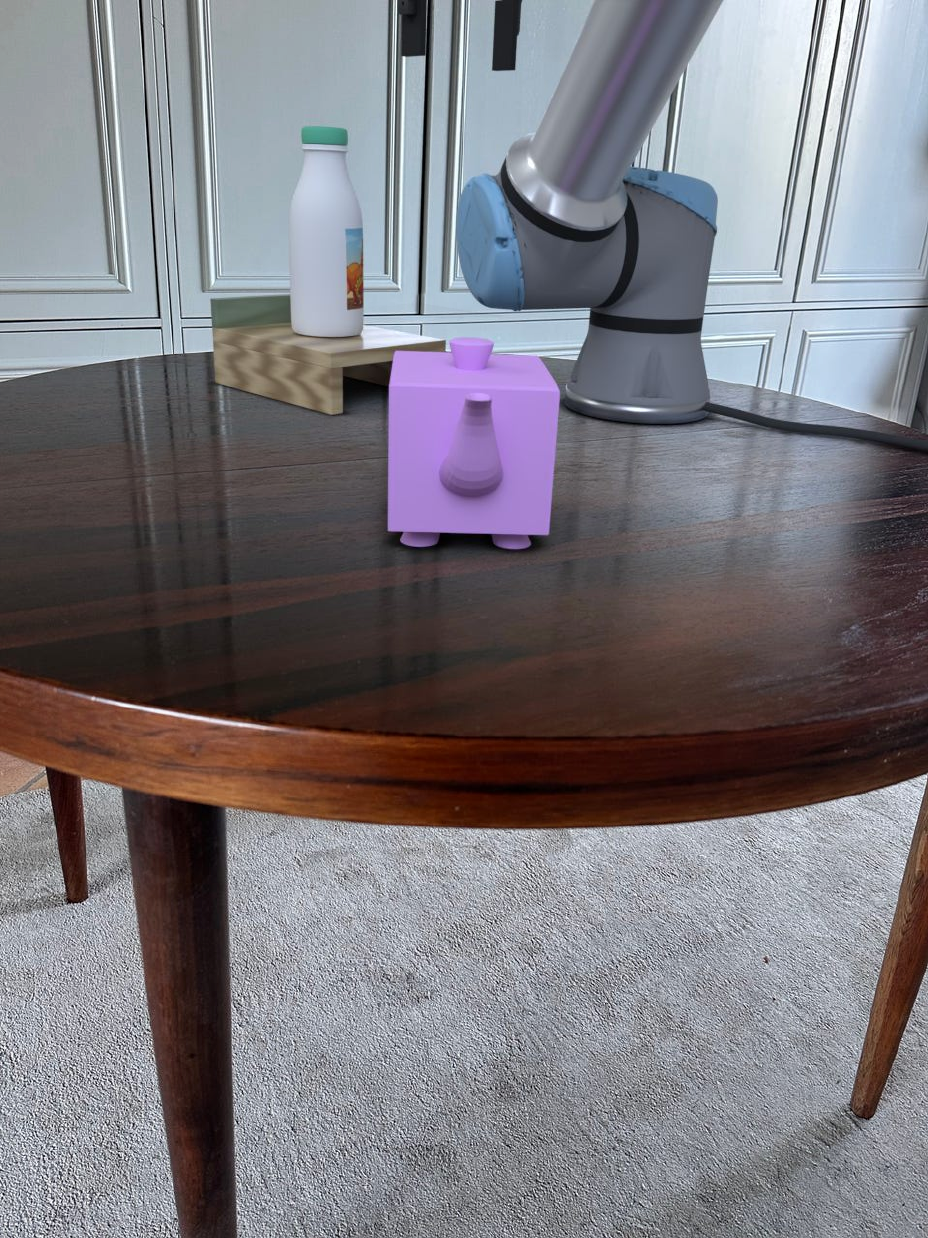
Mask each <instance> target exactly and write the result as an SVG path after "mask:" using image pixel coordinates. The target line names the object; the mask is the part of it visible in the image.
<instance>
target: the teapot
mask: <svg viewBox="0 0 928 1238" xmlns="http://www.w3.org/2000/svg"><path fill="white" fill-rule="evenodd" d="M448 343H449V349H450V351H451V352H449V351H447V352H418V351H395V353H394V358H393V364H392V370H391V377H390V383H389V387H388V447H387V448H388V453H387V454H388V458H387V459H388V460H387V461H388V463H387V464H388V465H387V469H388V470H387V483H388V484H387V532H401V533H402V532H403V533H402V535H401V536H400V539H399V540H400V543H402V544H403V545H406V546H408V547H409V546H410V547H417V548H425V547H431V546H435V545H437V544H438V543H439V539H440V536H441V533H442V534H443V533H446V534H447V533H449V534H481V535H482V534H485V535H486V534H489V535H491V538H492V543H493V544H494V545H495V546H497V547H499V548H502V549H508V550H522V549H527V548H529V547H530V546H531V545H532V542H531V539H530V538H529V536H531V535H532V536H549V535H550V525H551V515H552V514H551V512H552V499H553V487H554V477H555V476H554V475H555V474H554V473H555V463H556V461H555V460H556V449H557V438H558V437H557V436H558V423H559V412H560V398H561V391H560V389H559V386H558V384H557V382H556V381H555V379H554V378H553V376H552V374H551V373H550V371H549V370H548V368H547V366H546V365H545V364H544V362H543V361H542V359H541V358H540V357H539V356H538V355H537V354H536V355H535V354H532V355H529V354H505V353H504V354H503V353H492V352H493V349H494V345H495V342H493V341H492V340H490V339H487V338H481V337H473V336H472V337H471V336H469V337H467V336H465V337H464V336H463V337H454V338H452V339H450V340H449V341H448Z"/></svg>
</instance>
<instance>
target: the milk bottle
mask: <svg viewBox="0 0 928 1238" xmlns="http://www.w3.org/2000/svg"><path fill="white" fill-rule="evenodd" d="M300 133H301V134H300V135H301V137H300V138H301V143H302V147H301V150H302V151H303V154H304V159H303V165H302V169H301V173H300V177H299V180H298V183H297V185H296V188H295V190H294V192H293V196H292V198H291V203H290V206H289V215H288V259H289V262H288V263H289V294H290V300H291V325H292V329H293V331H294V332H295V333H298V334H302V335H308V336H316V337H346V336H355V335H359V334H361V333H362V331H363V325H364V316H365V315H364V313H365V312H364V305H365V304H364V302H365V301H364V293H365V292H364V288H365V287H364V227H363V226H364V225H363V224H364V223H363V215H362V209H361V205H360V200H359V198H358V196H357V193H356V190H355V189H354V188H355V187H354V186H353V183H352V181H351V177H350V174H349V169H348V167H347V161H346V154H347V153H348V152H349V150H348V143H349V134H348V130H347V129H346V128H344V127H336V126H321V125H319V126H318V125H316V126H315V125H314V126H313V125H309V126H303V127H302V128H301V131H300Z"/></svg>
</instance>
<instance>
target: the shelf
mask: <svg viewBox="0 0 928 1238" xmlns="http://www.w3.org/2000/svg"><path fill="white" fill-rule="evenodd" d="M209 301H210V316H211V317H210V318H211V331H212V332H211V333H212V349H213V364H214V365H213V367H214V381H215V382H214V383H215V384H218V385H221V386H226V387H229V388H231V389H232V388H233V389H237V390H238V391H239V390H240V391H243V392H248V393H249V394H250V393H251V394H254V395H258V396H262V397H264V398H268V399H272V400H276V401H279V402H283V403H287V404H290V405H293V406H294V405H295V406H298V407H301V408H304V409H309V410H311V411H314V412H315V411H316V412H320V413H323V414H325V415H326V414H327V415H330V416H333V415H340V414H343V413H344V387H343V386H344V382H343V381H344V377H347V378H349V379H355V380H358V381H363V382H368V383H370V384H371V383H372V384H375V385H379V386H384V387H388V388H389V383H390V377H391V370H392V364H393V358H394V353H395V351H418V352H446V349H447V347H446V346H447V340H446V339H443V338H437V337H433V336H432V337H431V336H426V335H420V334H416V333H410V332H404V331H399V330H394V329H387V328H382V327H378V326H373V325H366V324H363V331H362V333H361V334H359V335H355V336H346V337H316V336H308V335H302V334H298V333H295V332H294V331H293V329H292V325H291V300H290V293H282V294H281V293H279V294H264V295H247V296H230V297H229V296H227V297H217V298H216V297H212V298H209Z"/></svg>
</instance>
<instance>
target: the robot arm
mask: <svg viewBox="0 0 928 1238" xmlns="http://www.w3.org/2000/svg"><path fill="white" fill-rule="evenodd" d="M723 2H724V0H594V1H593V3H592V6H591V8H590V10H589V12H588V15H587V16H586V19H585V21H584V23H583V26H582V28H581V29H580V33H579V35H578V36H577V38H576V41H575V43H574V46H573V48H572V50H571V53H570V55H569V57H568V59H567V61H566V64H565V66H564V67H563V71H562V73H561V75H560V77H559V80H558V82H557V83H556V85H555V88H554V91H553V93H552V95H551V97H550V100H549V102H548V103H547V106H546V109H545V111H544V113H543V115H542V118H541V120H540V122H539V124H538V126H537V128H536V131H535V132H531V133H527V134H524V135H522V136H520V137H519V138H517V139H516V140H515V141H514V142H513V143H512V144H511V146H510V147H509V149H508V151H507V153H506V155H505V158H504V160H503V162H502V165H501V167H500V170H499V172H498V173H497V174H496V175H491V174H489V173H487V172H484V173H482V174H481V175H477V176H472V177H471V178H469V180H467V182H466V183H465V185H464V187H463V189H462V191H461V194H460V197H459V201H458V206H457V210H456V211H457V214H456V227H455V228H456V230H455V231H456V245H457V255H458V260H459V265H460V270H461V272H462V276H463V279H464V282H465V284H466V286H467V289H468V290H469V292H470V294H471V295H472V297H473V298H474V299H475V300H476V301H477V302H478V303H479V304H480V305H482V306H484V307H486V308H489V309H496V310H508V311H509V310H510V311H513V312H521V311H534V310H566V309H567V310H572V309H573V310H574V309H589V316H588V317H589V319H588V326H587V327H588V328H587V333H586V336H585V339H584V342H583V344H582V345H581V349H580V351H579V354H578V355H577V358H576V360H575V364H574V365H573V369H572V371H571V373H570V377H569V378H568V381H567V383H566V385H565V394H564V396H565V397H564V405H565V406H566V407H567V408H568V409H570V410H572V411H574V412H576V413H579V414H582V415H586V416H588V417H592V418H593V417H594V418H598V419H601V420H608V421H616V422H623V423H633V424H634V423H635V424H651V425H652V424H653V425H659V424H660V425H661V424H662V425H663V424H667V425H668V424H669V425H671V424H683V423H684V424H685V423H691V422H696V421H700V420H702V419H703V420H704V419H705V418H707V416H708V415H709V413H711V414H714V415H718V416H722V417H723V416H724V417H727V418H730V419H735V420H739V421H743V422H746V423H750V424H753V425H756V426H760V427H764V428H768V429H774V430H778V431H785V432H791V433H792V432H793V433H800V434H809V435H820V436H832V437H839V438H848V439H854V440H855V439H856V440H861V441H867V442H874V443H880V444H884V445H891V446H894V447H895V446H896V447H901V448H905V449H911V450H917V451H921V452H927V453H928V440H923V439H919V438H913V437H907V436H903V435H897V434H893V433H892V434H891V433H886V432H880V431H873V430H869V429H868V430H867V429H862V428H855V427H846V426H838V425H837V426H836V425H829V424H828V425H827V424H817V423H816V424H815V423H805V422H795V421H789V420H783V419H778V418H772V417H768V416H764V415H759V414H756V413H753V412H750V411H746V410H743V409H738V408H734V407H730V406H725V405H721V404H718V403H713V402H711V392H710V387H709V381H708V374H707V368H706V363H705V358H704V351H703V345H702V331H703V324H704V316H705V309H706V301H707V294H708V285H709V279H710V272H711V265H712V259H713V252H714V245H715V240H716V236H717V235H718V226H717V216H718V204H719V200H718V198H719V197H718V194H717V192H716V189H715V188H714V187H713V186H712V184H710V183H709V182H707V181H705V180H702V179H700V178H696V177H692V176H689V175H685V174H680V173H676V172H670V171H665V170H654V169H651V168H646V167H645V168H644V167H639V166H632V165H633V164H634V161H635V160H636V158H637V156H638V154H639V153H640V151H641V149H642V148H643V146H644V144H645V142H646V140H647V138H648V136H649V135H650V133H651V132H652V129H653V128H654V126H655V124H656V122H657V120H658V118H659V117H660V115H661V114H662V111H663V110H664V108H665V106H666V104H667V103H668V101H669V99H670V97H671V95H672V94H673V92H674V90H675V88H676V87H677V85H678V83H679V81H680V80H681V78H682V75H683V74H684V72H685V70H686V69H687V67H688V65H689V64H690V62H691V60H692V58H693V56H694V54H695V52H696V51H697V49H698V47H699V45H700V44H701V42H702V40H703V38H704V36H705V35H706V32H707V31H708V30H709V27H710V25H711V24H712V22H713V20H714V18H715V16H716V14H717V13H718V12H719V9H720V8H721V6H722V4H723ZM522 3H523V0H495V1H494V15H493V16H494V17H493V19H494V20H493V39H492V40H493V41H492V59H491V60H492V61H491V64H492V65H491V72H492V71H493V72H508V71H510V72H511V71H516V64H517V48H518V36H519V34H520V31H521V15H522ZM397 10H398V15H399V16H401V32H400V33H401V34H400V35H401V41H400V43H401V44H400V46H401V47H400V56H401V57H405V58H411V57H412V58H413V57H426V56H427V55H426V54H427V17H428V15H427V13H428V0H397Z"/></svg>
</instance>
